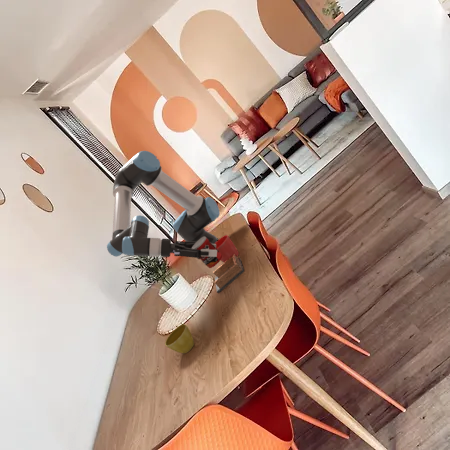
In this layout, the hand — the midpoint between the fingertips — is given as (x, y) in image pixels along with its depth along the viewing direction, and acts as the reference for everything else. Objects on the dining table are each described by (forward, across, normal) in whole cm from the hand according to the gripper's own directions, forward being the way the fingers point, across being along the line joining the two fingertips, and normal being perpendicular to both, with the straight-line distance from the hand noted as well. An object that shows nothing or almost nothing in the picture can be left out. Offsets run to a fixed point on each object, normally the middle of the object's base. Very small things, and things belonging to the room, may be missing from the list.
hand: (216, 250), depth 206 cm
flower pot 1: (-10, +33, -28) cm, 44 cm away
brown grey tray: (+6, 0, -11) cm, 13 cm away
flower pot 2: (+9, -16, -9) cm, 20 cm away
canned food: (0, 0, -5) cm, 5 cm away
